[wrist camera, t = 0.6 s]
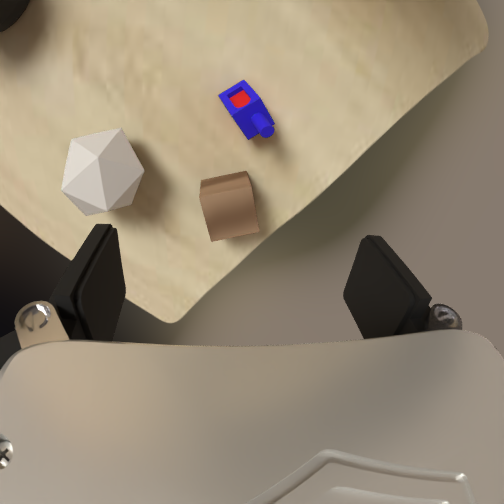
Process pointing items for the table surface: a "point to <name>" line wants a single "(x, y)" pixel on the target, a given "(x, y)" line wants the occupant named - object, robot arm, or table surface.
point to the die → (101, 172)
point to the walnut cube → (228, 206)
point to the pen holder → (11, 12)
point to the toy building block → (248, 110)
